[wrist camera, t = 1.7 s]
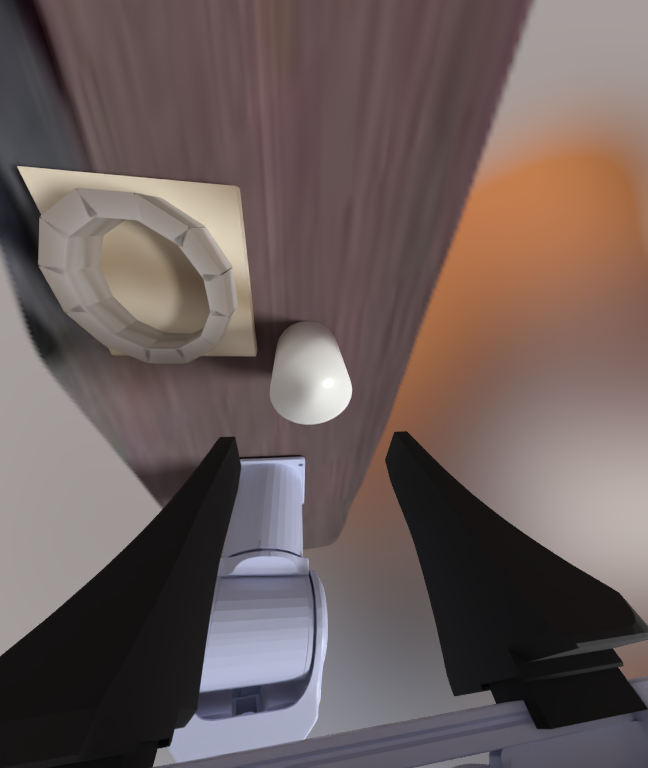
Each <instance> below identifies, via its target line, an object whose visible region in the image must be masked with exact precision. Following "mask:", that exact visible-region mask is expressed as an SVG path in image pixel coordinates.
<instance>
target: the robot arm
mask: <svg viewBox="0 0 648 768" xmlns="http://www.w3.org/2000/svg"><path fill="white" fill-rule="evenodd" d="M385 461H386V465H387V469H388V473H389V477H390V481H391V483H392V486H393V489H394V491H395V494H396V497H397V499H398V502H399V504H400V507H401V509H402V512H403V514H404V517H405V519H406V522H407V525H408V527H409V530H410V532H411V535H412V538H413V541H414V544H415V548H416V551H417V554H418V558H419V561H420V565H421V568H422V572H423V575H424V579H425V583H426V586H427V590H428V594H429V598H430V602H431V606H432V610H433V614H434V618H435V622H436V627H437V631H438V636H439V640H440V645H441V649H442V653H443V658H444V663H445V668H446V673H447V677H448V679H449V683H450V686H451V689H452V692H453V694H454V696H460V695H465V694H471V693H476V692H482V691H488V690H491V692H492V694H493V697H494V699H495V702H496V704H493V705H488V706H482V707H477V708H472V709H466V710H461V711H456V712H450V713H445V714H439V715H434V716H428V717H423V718H418V719H412V720H407V721H401V722H396V723H390V724H385V725H380V726H374V727H369V728H363V729H358V730H353V731H347V732H342V733H336V734H332V735H326V736H320V737H315V738H310V739H305V738H306V737H307V735H308V733H309V732H310V731H311V729H312V728H313V726H314V724H315V722H316V720H317V718H318V705H319V703H320V698H321V681H322V669H323V663H324V660H325V655H326V648H327V634H328V633H327V632H328V621H327V605H326V598H325V592H324V588H323V585H322V582H321V580H320V579H319V578H318V576H317V574H316V572H315V571H313V570H309V561H308V558H303V534H302V504H303V503H304V484H305V458H304V457H281V458H258V459H240V458H239V453H238V448H237V444H236V439H235V437H220V438H219V439H218V440H217V441H216V443H215V444H214V446H213V447H212V448H211V450H210V451H209V453H208V454H207V455H206V457H205V458H204V459H203V461H202V462H201V463H200V465H199V466H198V467H197V469H196V470H195V471H194V472H193V474H192V475H191V476H190V478H189V479H188V480H187V481H186V483H185V484H184V485H183V486H182V487H181V489H180V490H179V491H178V492H177V493H176V494H175V496H174V497H173V498H172V499H171V500H170V501H169V503H168V504H167V505H166V506H165V507H164V508H163V509H162V511H161V512H160V513H159V514H158V515H157V516H156V517H155V518H154V519H153V520H152V521H151V522H150V524H149V525H148V526H147V527H146V528H145V529H144V530H143V531H142V532H141V533H140V534H139V535H138V536H137V537H136V538H135V539H134V540H133V541H132V542H131V543H130V544H129V545H128V546H127V547H126V548H125V549H124V550H123V551H122V552H120V554H118V556H116V557H115V558H114V559H113V560H112V561H111V562H110V563H109V564H108V565H107V566H106V567H105V568H104V569H103V570H101V571H100V572H99V573H98V574H97V575H96V576H95V577H94V578H93V579H91V580H90V581H89V582H88V583H87V584H86V585H85V586H83V587H82V588H81V589H80V590H79V591H78V592H77V593H76V594H74V595H73V596H72V597H71V598H70V599H69V600H67V601H66V602H65V603H64V604H63V605H62V606H61V607H60V608H58V609H57V610H56V611H55V612H54V613H52V614H51V615H50V616H49V617H48V618H47V619H45V620H44V621H43V622H42V623H41V624H39V625H38V626H37V627H36V628H34V629H33V630H32V631H31V632H30V633H28V634H27V635H26V636H25V637H23V638H22V639H21V640H20V641H18V642H17V643H16V644H15V645H14V646H12V647H11V648H10V649H9V650H8V651H6V652H5V653H4V654H2V655H1V656H0V768H414V767H418V766H423V765H428V764H432V763H437V762H442V761H446V760H452V759H456V758H461V757H466V756H471V755H475V754H480V753H485V752H490V753H489V758H490V761H489V765H487V764H463V765H459V766H455V767H453V768H648V676H643V677H638V678H632V679H626V678H625V676H624V675H623V674H622V672H621V671H620V669H619V668H618V667H620V666H623V662H622V661H621V659H620V658H619V657H618V655H617V654H616V652H615V651H614V650H613V648H616V647H620V646H624V645H628V644H632V643H636V642H640V641H644V640H648V625H647V624H646V623H645V622H644V621H643V620H642V619H641V617H640V616H639V615H638V614H637V613H636V612H635V610H634V609H633V608H632V607H631V606H630V605H629V604H628V602H627V601H626V600H625V599H624V598H623V597H622V596H621V595H620V593H619V592H617V591H615V590H613V589H612V588H610V587H609V586H607V585H605V584H603V583H602V582H600V581H599V580H597V579H595V578H593V577H592V576H590V575H588V574H587V573H585V572H583V571H582V570H580V569H578V568H576V567H575V566H573V565H572V564H570V563H568V562H567V561H565V560H563V559H562V558H560V557H559V556H557V555H556V554H554V553H553V552H551V551H550V550H548V549H547V548H545V547H543V546H542V545H540V544H539V543H537V542H536V541H535V540H533V539H532V538H530V537H529V536H527V535H526V534H524V533H523V532H522V531H520V530H518V529H517V528H516V527H514V526H513V525H512V524H510V523H509V522H507V521H506V520H504V519H503V518H502V517H501V516H499V515H498V514H497V513H495V512H494V511H493V510H492V509H490V508H489V507H488V506H487V505H485V504H484V503H483V502H482V501H480V500H479V499H478V498H477V497H475V496H474V495H473V494H472V493H471V492H469V491H468V490H467V489H466V488H465V487H464V486H463V485H461V484H460V483H459V482H458V481H457V480H456V479H454V477H453V476H451V475H450V474H449V473H448V472H447V471H446V470H445V469H444V468H443V467H442V466H441V465H440V464H439V463H438V462H437V461H436V460H435V459H434V458H433V457H432V456H431V455H430V454H429V453H428V452H427V451H426V450H425V449H424V448H423V447H422V446H421V445H420V444H419V443H418V442H417V441H416V440H415V439H414V438H413V437H412V436H411V435H410V434H409V433H408V432H394V435H393V438H392V441H391V444H390V447H389V450H388V453H387V456H386V459H385ZM231 515H232V516H231ZM230 518H231V520H230ZM229 522H230V525H229ZM228 526H229V529H228ZM227 530H228V534H227V539H226V543H225V548H224V552H223V557H222V558H221V553H222V549H223V545H224V541H225V537H226V533H227ZM220 558H221V559H220ZM163 747H167V749H168V751H169V753H170V755H171V756H172V757H173V759H174V760H175V762H176V763H174V764H169V765H163V766H158V767H153V764H154V760H155V756H156V752H157V749H158V748H163Z"/></svg>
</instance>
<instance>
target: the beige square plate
mask: <svg viewBox="0 0 648 768" xmlns="http://www.w3.org/2000/svg"><path fill="white" fill-rule="evenodd" d="M17 167H18V169H19V171H20V173H21V175H22V177H23V179H24V181H25V183H26V185H27V187H28V189H29V191H30V193H31V195H32V197H33V199H34V201H35V203H36V205H37V207H38V209H39V211H40V213H41V216H40V217H41V218H39V254H38V265H40V266H39V268H40V269H41V271H42V273H43V275H44V277H45V278H46V280H47V282H48V284H49V285H50V287H51V289H52V291H53V292H54V294H55V296H56V298H57V300H58V301H59V303H60V305H61V307H62V308H63V310H64V312H67V313H66V314H67V315H68V316H70V317H71V318H72V319H73V320H74V321H76V322H77V323H78V324H79V325H80V326H82V327H83V328H84V329H85V330H86V331H87V332H89V333H90V334H91V335H92V336H93V337H95V338H96V339H97V340H98V341H99V342H101V343H102V344H103V345H104V346H105V345H106V347H108V348H109V350H110V352H111V354H112V355H128V356H131V357H133V358H136V359H138V360H141V361H143V362H146V363H153V364H186V363H189V362H191V361H193V360H195V359H196V358H198V357H200V356H256V354H257V342H256V332H255V323H254V314H253V305H252V296H251V287H250V277H249V268H248V259H247V250H246V241H245V231H244V222H243V213H242V204H241V195H240V188H238V187H237V186H230V185H219V184H208V183H197V182H186V181H175V180H164V179H153V178H142V177H131V176H120V175H109V174H98V173H87V172H76V171H65V170H54V169H43V168H32V167H21V166H17Z"/></svg>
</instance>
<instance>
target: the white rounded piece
mask: <svg viewBox="0 0 648 768" xmlns="http://www.w3.org/2000/svg"><path fill="white" fill-rule="evenodd" d="M351 395H352V385H351V381H350V379H349V376H348V373H347V370H346V367H345V364H344V361H343V358H342V356H341V353H340V350H339V347H338V344H337V341H336V339H335V337H334V335H333V333H332V332H331V331H330V330H329V329H328V328H327V327H325V326H324V325H322V324H320V323H317V322H312V321H303V322H298V323H295V324H293V325H291V326H289V327H288V328H287V329H285V330H284V331H283V333H282V334H281V335H280V337H279V339H278V342H277V348H276V354H275V360H274V367H273V373H272V380H271V386H270V399H271V402H272V405H273V406H274V408H275V409H276V411H277V412H278V413H279V414H280V415H281V416H283V417H284V418H286V419H288V420H290V421H292V422H295V423H299V424H319V423H323V422H326V421H329V420H331V419H333V418H335V417H336V416H338V415H339V414H340V413H341V412H342V411H343V410H344V409H345V408H346V407H347V405H348V403H349V401H350V399H351Z"/></svg>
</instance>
